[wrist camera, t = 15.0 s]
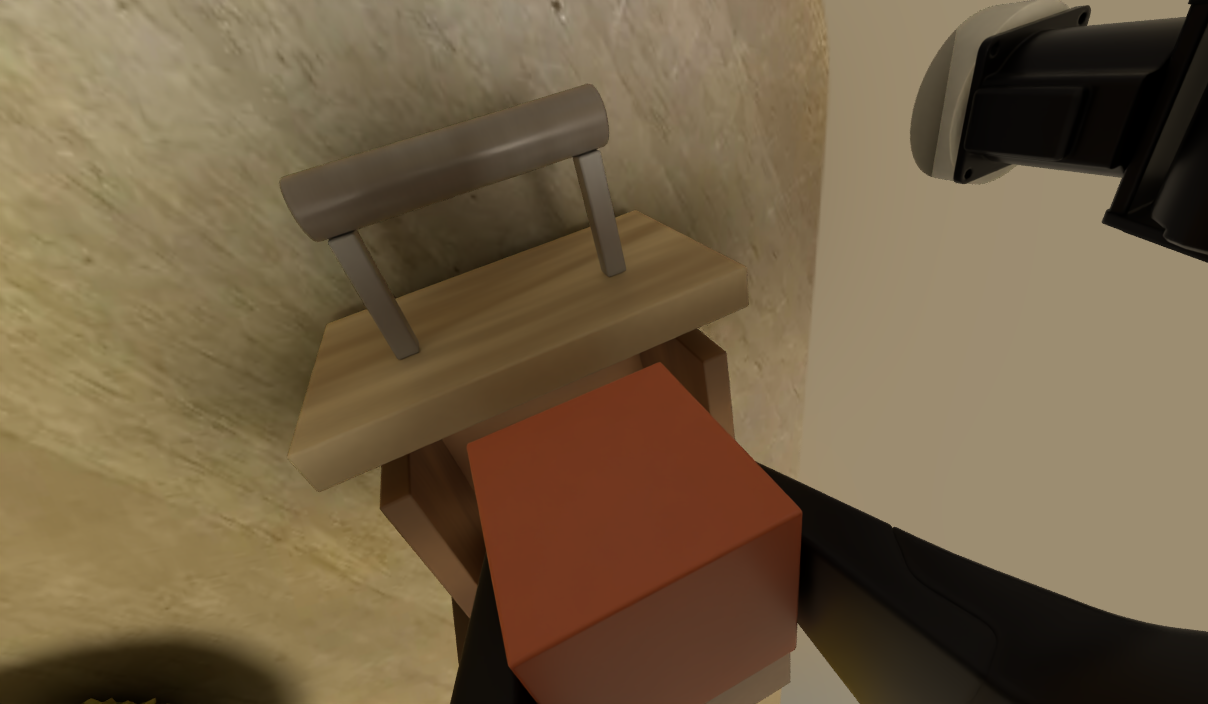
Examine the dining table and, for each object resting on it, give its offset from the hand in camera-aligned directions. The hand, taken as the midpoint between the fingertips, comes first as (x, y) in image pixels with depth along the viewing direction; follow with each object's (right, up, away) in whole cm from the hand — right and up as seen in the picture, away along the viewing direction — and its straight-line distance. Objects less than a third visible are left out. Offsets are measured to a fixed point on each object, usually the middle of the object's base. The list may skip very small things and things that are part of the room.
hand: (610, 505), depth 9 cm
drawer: (-3, +3, +10) cm, 10 cm away
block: (0, 0, +1) cm, 1 cm away
